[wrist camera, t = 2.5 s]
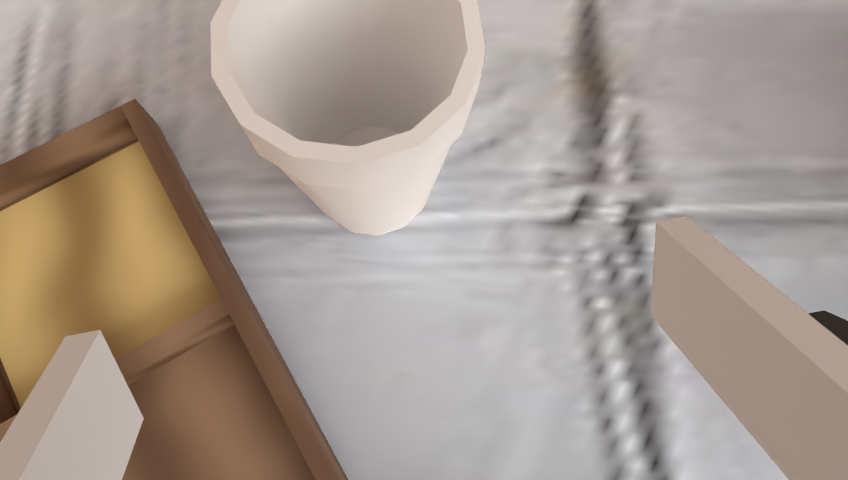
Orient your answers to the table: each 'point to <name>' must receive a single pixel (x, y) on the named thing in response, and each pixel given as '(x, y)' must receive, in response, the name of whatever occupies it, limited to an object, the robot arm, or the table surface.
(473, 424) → the table surface
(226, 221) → the table surface
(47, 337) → the compartment tray
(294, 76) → the foam cup
